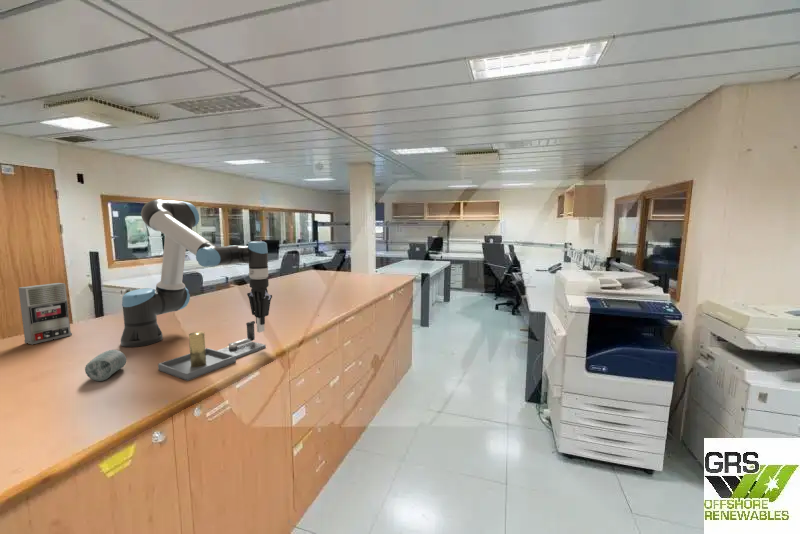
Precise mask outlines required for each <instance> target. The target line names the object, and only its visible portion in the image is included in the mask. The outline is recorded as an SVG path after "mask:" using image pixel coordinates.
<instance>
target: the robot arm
mask: <svg viewBox="0 0 800 534" xmlns="http://www.w3.org/2000/svg"><path fill="white" fill-rule="evenodd" d="M140 214H141V219H142V221H143V222H144V224H145V225H146V226H148V227H149V228H150V229H151V230H153V231H156V232H161V233H162V234H163V235H165V236H164V246H163V254H162V263H161V265H162V266H161V274H160V275H161V276H160V280H159V282H157V283H156V287H155V289H154V288H151V287H150V288H149V287H146V288H139V289H134V290H131V291H128V292H126V293H124V295H122V298H121V299H122V301H121V302H122V303H121V306H122V313H123V324H124V325H123V330H122V334H121V337H120V346H121V347H124V348H136V347H137V348H138V347H144V346H149V345H152V344H156V343H159V342H161V341H163V337H164V335H163V332H162V330H161V328H160V326H159V324H158V319H157V318H158V317H157V316H160V315H165V314H168V313H173V312H177V311H180V310H183V309H184V308H186V307H187V306H188V304H189V303H190V300H191V294H190V293H189V289H188V288H187V287H186V284H185V283H184V282H183V278H184V277H183V276H184V269H185V259H186V251H189V252H190V253H191V254H193V255H194V256H195V259H196V262H198V265H199V266H201V267H204V268H206V267H209V268H211V267H212V268H213V267H219V266H224V265H234V264H248V272H249V273H248V275H249V276H248V277H249V278H250V279H249V280H248V281H249V287H250V288H251V290H250V291H249V292H247V293H246V295H247V298H248V300H249V306H250V311H251V314H252V316H254V317H255V324H256V333H262V332H265V325H266V317H268V316H269V314H270V313H269V312H270V308H271V307H270V306H271V301H272V299H273V294H269V290H268V287H269V285H270V284H269V283H270V282H269V265H268V264H269V262H268V261H269V259H268V258H269V257H268V256H269V255H268V253H269V252H268V251H269V249H268V243H267V242H265V241H249V242H248V243H247V245H238V244H234V245H226V246H224V245H223V246H217V245H215V244H214V243H213V242H211V241H209V240H207V239H206V238H205V237H203V236H202V235H200V234H199V233H198V232H195V231H194V230H193V228H194V227H196V226H197V225H199V222H200V214H199V211H198V209H197V207H196V206H195V205H194V204H192V202H191V203H190V202H187V201H182V200H169V199H154V200H153V199H152V200H150V201H148V202H146V203H145V204H144V206H143V207H142V208H141V212H140Z"/></svg>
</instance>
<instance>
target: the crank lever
mask: <svg viewBox="0 0 800 534" xmlns="http://www.w3.org/2000/svg"><path fill="white" fill-rule="evenodd" d="M255 324H256V320H252V321H249V322H246V323H245V325H246V336H247V337H246V338H244V339H240V340H238V341H234V342H230V343H228V347H229V349H230V350H233V349H237V346H238V345H241V344H244V343H247V342H250V341H252V342H254V341H255V338H256V336H255Z"/></svg>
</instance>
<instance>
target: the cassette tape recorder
mask: <svg viewBox="0 0 800 534" xmlns="http://www.w3.org/2000/svg"><path fill="white" fill-rule="evenodd" d="M66 285H67V284H66V283H64V282H54V283H47V284H37V285H29V286H20V287H18V296H19V303H20V311H21V320H22V321H21V322H22V327H23V336H24V340H23V341H24V344H27V343H28V344H29V345H33V344H35V345H37V344H39V343H40V344H41V343H44V342H49V341H54V340H57V339H63V338H66V337H71V336H73V333H72V332H71V325H70V324H71V323H70V314H69V306H68V296H67V295H68V293H67V288H66V287H67V286H66ZM70 335H71V336H70ZM53 339H54V340H53ZM33 346H34V345H33Z"/></svg>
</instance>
